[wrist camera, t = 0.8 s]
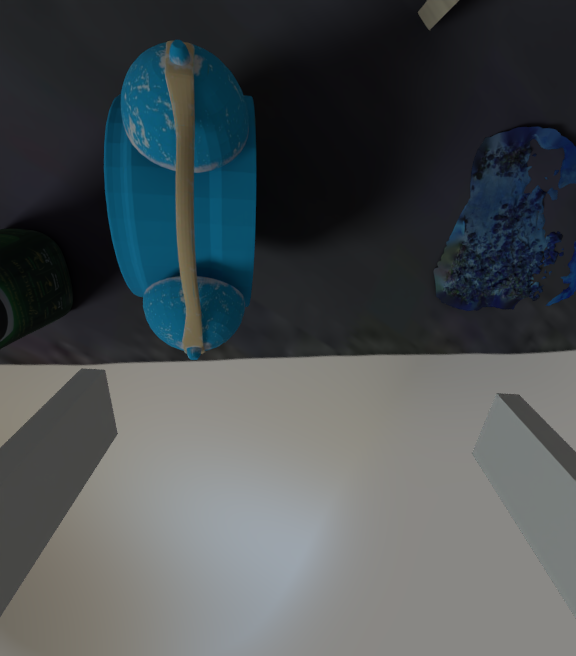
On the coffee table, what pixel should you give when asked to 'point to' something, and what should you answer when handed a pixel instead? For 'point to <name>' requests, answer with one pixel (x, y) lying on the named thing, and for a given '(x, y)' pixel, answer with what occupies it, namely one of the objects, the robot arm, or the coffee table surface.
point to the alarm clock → (183, 193)
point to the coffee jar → (31, 283)
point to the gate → (435, 11)
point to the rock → (504, 226)
